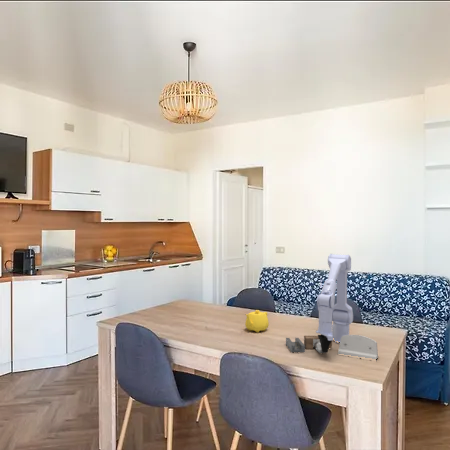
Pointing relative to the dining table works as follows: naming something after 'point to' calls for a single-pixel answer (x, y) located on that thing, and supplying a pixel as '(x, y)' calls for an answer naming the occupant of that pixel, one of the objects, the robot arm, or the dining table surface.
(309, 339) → the beam
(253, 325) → the teapot
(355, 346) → the hinge
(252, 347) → the dining table surface
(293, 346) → the v block
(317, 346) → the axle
